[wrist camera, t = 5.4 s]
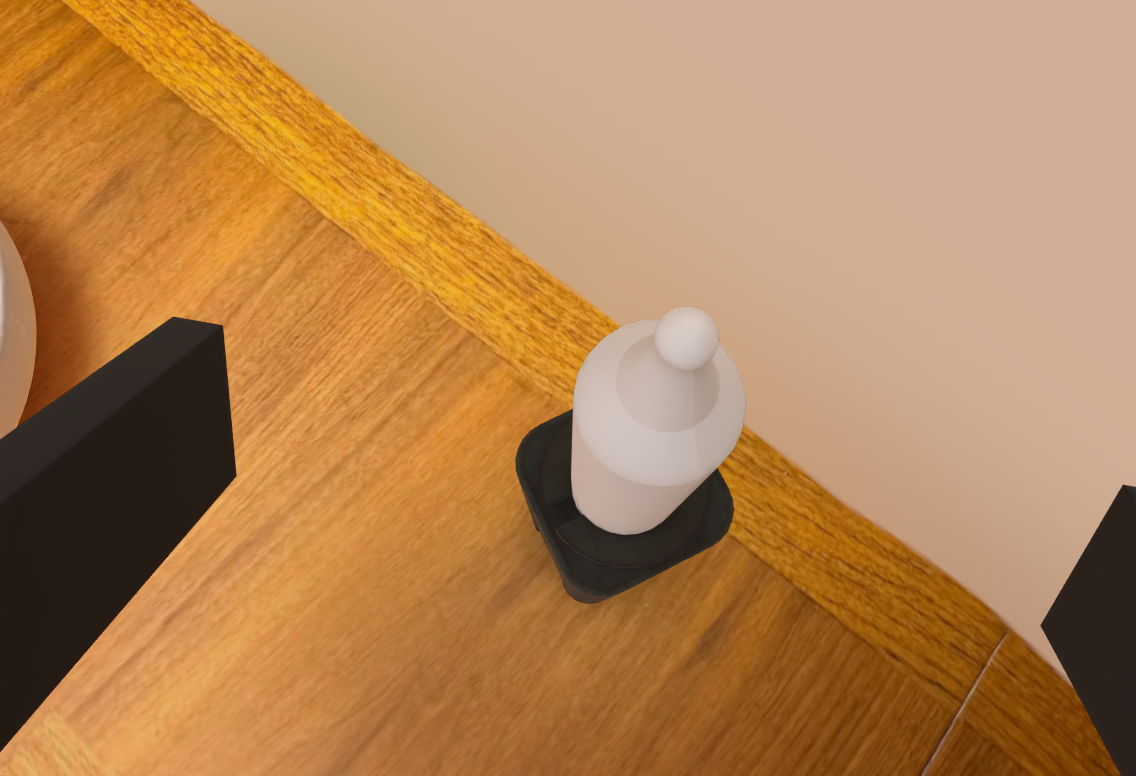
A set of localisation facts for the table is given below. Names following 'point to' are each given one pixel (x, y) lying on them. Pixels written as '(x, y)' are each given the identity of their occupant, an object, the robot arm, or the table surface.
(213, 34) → the table surface
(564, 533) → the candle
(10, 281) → the serving bowl
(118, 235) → the table surface
